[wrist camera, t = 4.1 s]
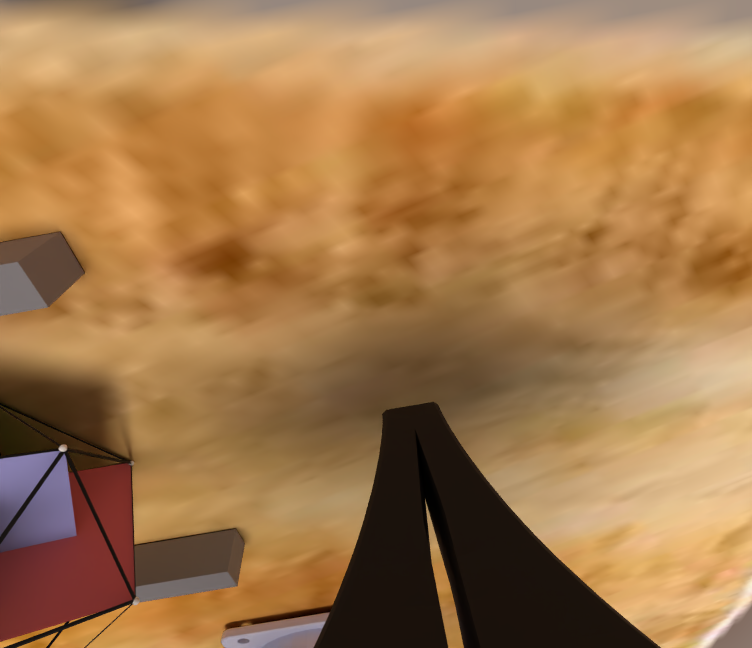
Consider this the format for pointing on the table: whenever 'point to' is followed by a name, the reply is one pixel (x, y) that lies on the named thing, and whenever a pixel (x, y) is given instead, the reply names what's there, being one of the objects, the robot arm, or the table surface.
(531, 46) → the table surface
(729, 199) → the table surface
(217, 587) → the u-shaped frame
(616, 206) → the table surface
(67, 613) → the geometric puzzle
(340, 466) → the table surface
